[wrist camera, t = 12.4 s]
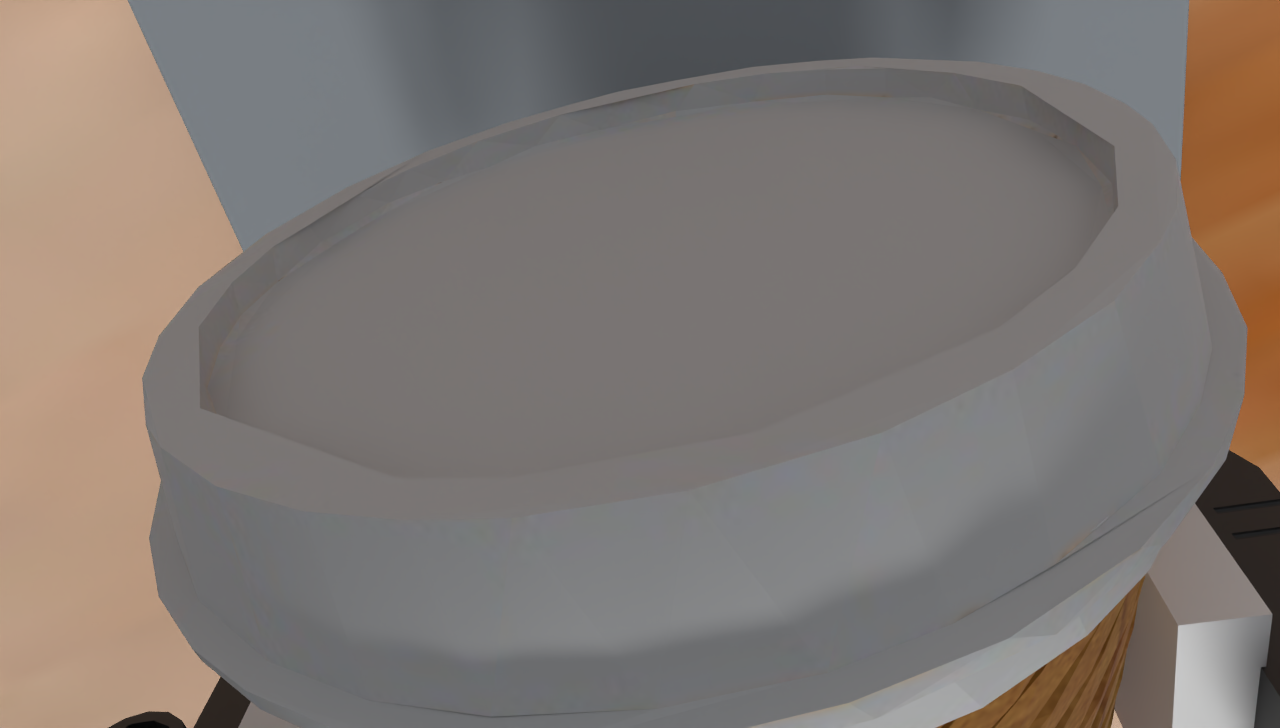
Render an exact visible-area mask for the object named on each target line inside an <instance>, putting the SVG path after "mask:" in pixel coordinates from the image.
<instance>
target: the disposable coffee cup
mask: <svg viewBox="0 0 1280 728" xmlns="http://www.w3.org/2000/svg"><path fill="white" fill-rule="evenodd" d="M1246 345H1247V326H1246V324H1245V322H1244V319H1243V317H1242V315H1241V313H1240V311H1239V309H1238V306H1237V304H1236V302H1235V300H1234V298H1233V295H1232V293H1231V291H1230V289H1229V287H1228V284H1227V282H1226V280H1225V278H1224V276H1223V273H1222V272H1221V271H1220V270H1219V269H1218V267H1217V266H1216V265H1215V264H1214V263H1213V262H1212V260H1211V259H1210V258H1209V257H1208V256H1207V255H1206V253H1205V252H1204V251H1203V250H1202V249H1201V247H1200V246H1199V245H1198V244H1197V243H1196V242H1195V240H1194V239H1193V238H1192V237H1191V232H1190V227H1189V222H1188V217H1187V212H1186V207H1185V202H1184V197H1183V192H1182V187H1181V182H1180V177H1179V172H1178V167H1177V162H1176V159H1175V157H1174V156H1173V154H1172V153H1171V151H1170V150H1169V148H1168V147H1167V145H1166V144H1165V142H1164V141H1163V139H1162V138H1161V136H1160V135H1159V133H1158V132H1157V130H1156V129H1155V127H1154V126H1153V124H1152V123H1151V122H1149V121H1148V120H1147V119H1145V118H1144V117H1143V116H1141V115H1140V114H1139V113H1137V112H1136V111H1135V110H1133V109H1132V108H1130V107H1129V106H1128V105H1126V104H1125V103H1123V102H1121V101H1119V100H1117V99H1115V98H1112V97H1110V96H1108V95H1106V94H1104V93H1102V92H1100V91H1098V90H1096V89H1094V88H1092V87H1090V86H1088V85H1085V84H1082V83H1079V82H1075V81H1072V80H1068V79H1065V78H1061V77H1058V76H1054V75H1051V74H1047V73H1043V72H1040V71H1035V70H1029V69H1022V68H1016V67H1009V66H1003V65H997V64H990V63H984V62H974V61H949V60H924V59H899V58H857V59H840V60H823V61H810V62H799V63H789V64H778V65H768V66H757V67H749V68H744V69H738V70H732V71H726V72H721V73H715V74H709V75H704V76H698V77H692V78H686V79H681V80H675V81H670V82H665V83H659V84H654V85H649V86H644V87H639V88H634V89H629V90H623V91H618V92H615V93H611V94H607V95H603V96H600V97H596V98H592V99H589V100H585V101H581V102H577V103H574V104H570V105H567V106H563V107H560V108H556V109H553V110H549V111H546V112H543V113H539V114H536V115H532V116H529V117H525V118H522V119H519V120H515V121H512V122H508V123H505V124H502V125H499V126H497V127H494V128H491V129H488V130H485V131H483V132H480V133H477V134H474V135H471V136H468V137H466V138H463V139H460V140H457V141H454V142H452V143H449V144H446V145H443V146H440V147H437V148H435V149H432V150H429V151H427V152H425V153H422V154H420V155H418V156H416V157H413V158H411V159H409V160H407V161H405V162H402V163H400V164H398V165H396V166H393V167H391V168H389V169H387V170H384V171H382V172H380V173H378V174H376V175H373V176H371V177H369V178H367V179H364V180H362V181H360V182H358V183H356V184H353V185H351V186H349V187H347V188H345V189H343V190H342V191H340V192H338V193H336V194H335V195H333V196H331V197H329V198H328V199H326V200H324V201H323V202H321V203H319V204H317V205H316V206H314V207H312V208H310V209H309V210H307V211H305V212H303V213H302V214H300V215H298V216H297V217H295V218H293V219H291V220H290V221H288V222H286V223H284V224H283V225H281V226H279V227H277V228H276V229H274V230H272V231H271V232H269V233H267V234H266V235H264V236H263V237H262V238H260V239H259V240H258V241H257V242H255V243H254V244H253V245H252V246H250V247H249V248H248V249H246V250H245V251H244V252H243V253H241V254H240V255H239V256H238V257H236V258H235V259H234V260H232V261H231V262H230V263H229V264H227V265H226V266H225V267H224V268H222V269H221V270H220V271H218V272H217V273H216V274H215V275H213V276H212V277H211V278H210V279H208V280H207V281H206V282H204V283H203V284H202V285H201V286H199V287H198V288H197V290H196V291H195V292H194V293H193V294H192V296H191V297H190V298H189V299H188V301H187V302H186V303H185V304H184V306H183V307H182V308H181V309H180V311H179V312H178V313H177V314H176V316H175V317H174V318H173V319H172V320H171V322H170V323H169V324H168V325H167V327H166V328H165V329H164V330H163V332H162V333H161V334H160V335H159V337H158V340H157V342H156V345H155V347H154V350H153V352H152V355H151V357H150V360H149V362H148V365H147V367H146V370H145V372H144V375H143V378H142V380H143V393H144V406H145V419H146V426H147V430H148V434H149V437H150V441H151V445H152V448H153V452H154V456H155V460H156V463H157V467H158V471H159V474H160V478H161V484H160V488H159V493H158V498H157V503H156V508H155V513H154V517H153V522H152V527H151V532H150V537H149V540H150V546H151V552H152V558H153V564H154V570H155V576H156V582H157V589H158V595H159V597H160V599H161V601H162V602H163V604H164V605H165V607H166V608H167V610H168V611H169V613H170V615H171V616H172V618H173V619H174V621H175V622H176V624H177V626H178V627H179V629H180V630H181V632H182V633H183V635H184V636H185V638H186V640H187V641H188V643H189V644H190V646H191V647H192V649H193V650H194V651H195V653H196V654H197V655H198V656H199V658H200V659H201V660H202V661H203V662H204V663H205V664H206V665H208V666H209V667H210V668H211V669H212V670H214V671H215V672H216V673H217V674H218V675H220V676H221V677H222V678H223V679H224V680H226V681H227V682H228V683H229V684H230V685H232V686H233V687H234V688H235V689H236V690H238V691H239V692H240V693H241V694H242V695H244V696H245V697H246V698H247V699H248V700H250V701H251V702H252V703H253V704H254V705H256V706H257V707H258V708H259V709H261V710H263V711H265V712H267V713H269V714H271V715H274V716H276V717H278V718H280V719H282V720H284V721H287V722H289V723H291V724H293V725H295V726H297V727H299V728H1111V724H1112V719H1113V713H1114V708H1115V702H1116V697H1117V693H1118V690H1119V687H1120V683H1121V680H1122V676H1123V670H1124V665H1125V659H1126V653H1127V648H1128V645H1129V642H1130V638H1131V635H1132V632H1133V628H1134V623H1135V617H1136V611H1137V605H1138V599H1139V596H1140V592H1141V589H1142V586H1143V582H1144V579H1145V576H1146V573H1147V572H1148V571H1149V570H1150V569H1151V567H1152V565H1153V563H1154V561H1155V559H1156V557H1157V555H1158V553H1159V551H1160V549H1161V547H1163V546H1164V545H1165V544H1166V543H1167V542H1168V540H1169V539H1170V537H1171V536H1172V535H1173V533H1174V532H1175V530H1176V529H1177V528H1178V526H1179V525H1180V523H1181V522H1182V521H1183V519H1184V518H1185V516H1186V515H1187V514H1188V512H1189V511H1190V509H1191V508H1192V507H1193V505H1194V504H1195V502H1196V501H1197V500H1198V498H1199V497H1200V495H1201V494H1202V493H1203V491H1204V490H1205V488H1206V487H1207V486H1208V484H1209V483H1210V481H1211V480H1212V479H1213V477H1214V476H1215V474H1216V473H1217V472H1218V470H1219V469H1220V467H1221V466H1222V465H1223V463H1224V462H1225V460H1226V458H1227V454H1228V451H1229V447H1230V443H1231V440H1232V436H1233V433H1234V429H1235V426H1236V422H1237V419H1238V415H1239V412H1240V408H1241V404H1242V401H1243V397H1244V388H1245V366H1246Z"/></svg>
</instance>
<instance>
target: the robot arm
mask: <svg viewBox="0 0 1280 728" xmlns="http://www.w3.org/2000/svg"><path fill="white" fill-rule="evenodd" d="M1114 709H1115V711H1116V713H1117V716H1118V718H1119V720H1120V722H1121V724H1122V726H1123V728H1280V492H1279V491H1278V489H1277V488H1276V487H1275V486H1274V485H1273V483H1272V482H1271V481H1270V480H1269V479H1268V477H1267V476H1266V475H1265V474H1264V473H1263V471H1262V470H1261V469H1260V468H1259V467H1257V466H1256V465H1254V464H1252V463H1250V462H1249V461H1247V460H1245V459H1243V458H1242V457H1240V456H1238V455H1237V454H1235V453H1233V452H1231V451H1230V450H1229V451H1228V454H1227V458H1226V460H1225V462H1224V463H1223V465H1222V466H1221V467H1220V469H1219V470H1218V472H1217V473H1216V474H1215V476H1214V477H1213V479H1212V480H1211V481H1210V483H1209V484H1208V486H1207V487H1206V488H1205V490H1204V491H1203V493H1202V494H1201V495H1200V497H1199V498H1198V500H1197V501H1196V502H1195V504H1194V505H1193V507H1192V508H1191V509H1190V511H1189V512H1188V514H1187V515H1186V516H1185V518H1184V519H1183V521H1182V522H1181V523H1180V525H1179V526H1178V528H1177V529H1176V530H1175V532H1174V533H1173V535H1172V536H1171V537H1170V539H1169V540H1168V542H1167V543H1166V544H1165V545H1164V546H1163V547H1161V549H1160V551H1159V553H1158V555H1157V557H1156V559H1155V561H1154V563H1153V565H1152V567H1151V569H1150V570H1149V571H1148V572H1147V573H1146V576H1145V579H1144V582H1143V586H1142V589H1141V592H1140V596H1139V599H1138V605H1137V611H1136V617H1135V623H1134V628H1133V632H1132V635H1131V638H1130V642H1129V645H1128V648H1127V653H1126V659H1125V665H1124V670H1123V676H1122V680H1121V683H1120V687H1119V690H1118V693H1117V697H1116V702H1115V708H1114ZM109 728H186V726H185V725H184V723H183V722H182V720H180V719H179V718H177V717H175V716H174V715H172V714H171V713H169V712H146V713H142V714H139V715H136V716H132V717H129V718H125V719H123V720H122V721H120V722H118V723H116V724H114V725H112V726H111V727H109ZM194 728H299V727H297V726H295V725H293V724H291V723H289V722H287V721H284V720H282V719H280V718H278V717H276V716H274V715H271V714H269V713H267V712H265V711H263V710H261V709H259V708H258V707H257V706H256V705H254V704H253V703H252V702H251V701H250V700H248V699H247V698H246V697H245V696H244V695H242V694H241V693H240V692H239V691H238V690H236V689H235V688H234V687H233V686H232V685H230V684H229V683H228V682H227V681H226V680H224V679H223V678H222V677H220V679H219V681H218V683H217V685H216V687H215V689H214V690H213V692H212V694H211V696H210V698H209V700H208V702H207V704H206V705H205V707H204V709H203V711H202V713H201V715H200V717H199V719H198V720H197V722H196V724H195V726H194Z"/></svg>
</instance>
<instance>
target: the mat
mask: <svg viewBox="0 0 1280 728" xmlns="http://www.w3.org/2000/svg"><path fill="white" fill-rule="evenodd" d="M128 2H129V4H130V6H131V8H132V11H133V13H134V15H135V17H136V19H137V21H138V24H139V26H140V28H141V30H142V32H143V35H144V37H145V39H146V41H147V43H148V45H149V48H150V50H151V52H152V54H153V56H154V58H155V61H156V63H157V65H158V67H159V69H160V71H161V74H162V76H163V78H164V80H165V82H166V84H167V87H168V89H169V91H170V93H171V95H172V98H173V100H174V102H175V104H176V106H177V108H178V111H179V113H180V115H181V117H182V119H183V121H184V124H185V126H186V128H187V130H188V132H189V134H190V137H191V139H192V141H193V143H194V145H195V147H196V150H197V152H198V154H199V156H200V158H201V161H202V163H203V165H204V167H205V169H206V171H207V174H208V176H209V178H210V180H211V182H212V184H213V187H214V189H215V191H216V193H217V195H218V197H219V200H220V202H221V204H222V206H223V208H224V210H225V213H226V215H227V217H228V219H229V221H230V224H231V226H232V228H233V230H234V232H235V234H236V237H237V239H238V241H239V243H240V245H241V247H242V250H243V252H244V251H245V250H246V249H248V248H249V247H250V246H252V245H253V244H254V243H255V242H257V241H258V240H259V239H260V238H262V237H263V236H264V235H266V234H267V233H269V232H271V231H272V230H274V229H276V228H277V227H279V226H281V225H283V224H284V223H286V222H288V221H290V220H291V219H293V218H295V217H297V216H298V215H300V214H302V213H303V212H305V211H307V210H309V209H310V208H312V207H314V206H316V205H317V204H319V203H321V202H323V201H324V200H326V199H328V198H329V197H331V196H333V195H335V194H336V193H338V192H340V191H342V190H343V189H345V188H347V187H349V186H351V185H353V184H356V183H358V182H360V181H362V180H364V179H367V178H369V177H371V176H373V175H376V174H378V173H380V172H382V171H384V170H387V169H389V168H391V167H393V166H396V165H398V164H400V163H402V162H405V161H407V160H409V159H411V158H413V157H416V156H418V155H420V154H422V153H425V152H427V151H429V150H432V149H435V148H437V147H440V146H443V145H446V144H449V143H452V142H454V141H457V140H460V139H463V138H466V137H468V136H471V135H474V134H477V133H480V132H483V131H485V130H488V129H491V128H494V127H497V126H499V125H502V124H505V123H508V122H512V121H515V120H519V119H522V118H525V117H529V116H532V115H536V114H539V113H543V112H546V111H549V110H553V109H556V108H560V107H563V106H567V105H570V104H574V103H577V102H581V101H585V100H589V99H592V98H596V97H600V96H603V95H607V94H611V93H615V92H618V91H623V90H629V89H634V88H639V87H644V86H649V85H654V84H659V83H665V82H670V81H675V80H681V79H686V78H692V77H698V76H704V75H709V74H715V73H721V72H726V71H732V70H738V69H744V68H749V67H757V66H768V65H778V64H789V63H799V62H810V61H823V60H840V59H857V58H899V59H924V60H949V61H974V62H984V63H990V64H997V65H1003V66H1009V67H1016V68H1022V69H1029V70H1035V71H1040V72H1043V73H1047V74H1051V75H1054V76H1058V77H1061V78H1065V79H1068V80H1072V81H1075V82H1079V83H1082V84H1085V85H1088V86H1090V87H1092V88H1094V89H1096V90H1098V91H1100V92H1102V93H1104V94H1106V95H1108V96H1110V97H1112V98H1115V99H1117V100H1119V101H1121V102H1123V103H1125V104H1126V105H1128V106H1129V107H1130V108H1132V109H1133V110H1135V111H1136V112H1137V113H1139V114H1140V115H1141V116H1143V117H1144V118H1145V119H1147V120H1148V121H1149V122H1151V123H1152V124H1153V126H1154V127H1155V129H1156V130H1157V132H1158V133H1159V135H1160V136H1161V138H1162V139H1163V141H1164V142H1165V144H1166V145H1167V147H1168V148H1169V150H1170V151H1171V153H1172V154H1173V156H1174V157H1175V159H1176V162H1177V167H1178V172H1179V177H1180V180H1181V159H1182V138H1183V117H1184V96H1185V75H1186V54H1187V33H1188V11H1189V0H128Z"/></svg>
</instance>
